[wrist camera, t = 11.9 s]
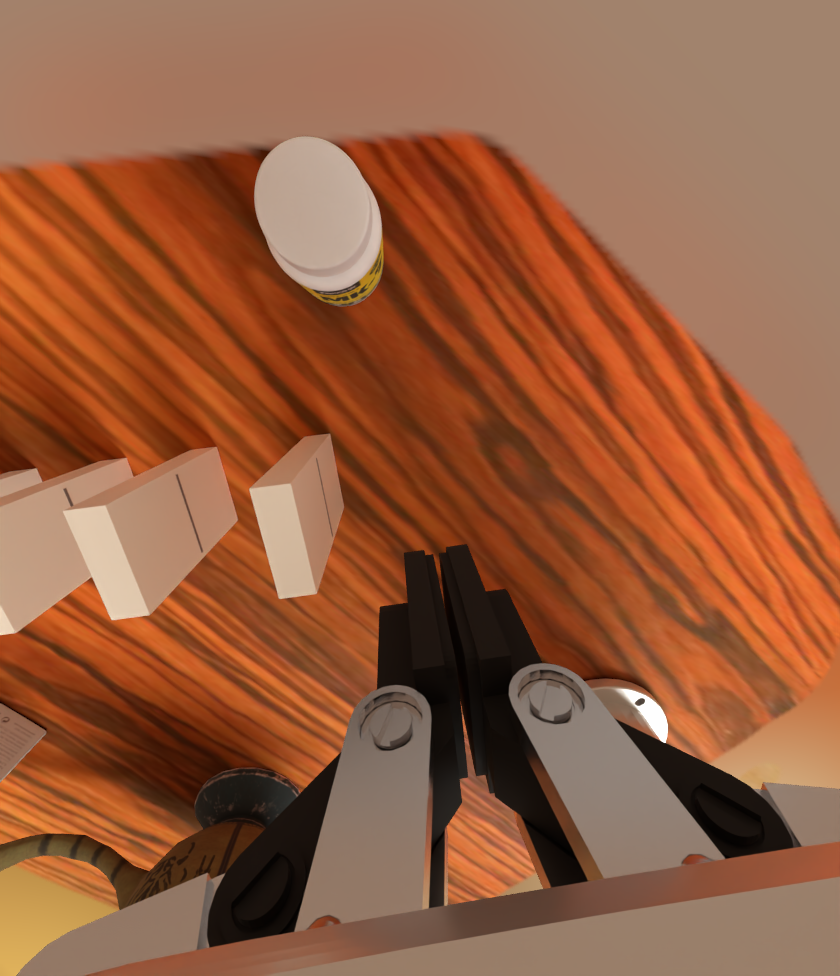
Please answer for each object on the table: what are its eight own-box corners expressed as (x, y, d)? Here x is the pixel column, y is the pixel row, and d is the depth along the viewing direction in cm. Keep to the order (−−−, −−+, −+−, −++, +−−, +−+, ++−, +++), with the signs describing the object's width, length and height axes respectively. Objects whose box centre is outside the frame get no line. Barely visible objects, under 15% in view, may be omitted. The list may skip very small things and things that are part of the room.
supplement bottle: (331, 324, 23) (297, 309, 15) (278, 244, 21) (208, 178, 13) (401, 275, 22) (406, 230, 14) (351, 188, 20) (325, 85, 13)
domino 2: (217, 446, 24) (105, 505, 15) (238, 520, 26) (150, 614, 17) (190, 449, 24) (61, 510, 15) (213, 523, 26) (110, 620, 16)
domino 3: (330, 433, 25) (291, 483, 15) (344, 507, 26) (317, 593, 17) (304, 436, 24) (248, 488, 15) (320, 510, 26) (278, 599, 17)
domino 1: (126, 457, 24) (-44, 524, 15) (154, 530, 26) (16, 633, 16) (100, 460, 24) (-89, 529, 15) (128, 534, 26) (-24, 638, 16)
